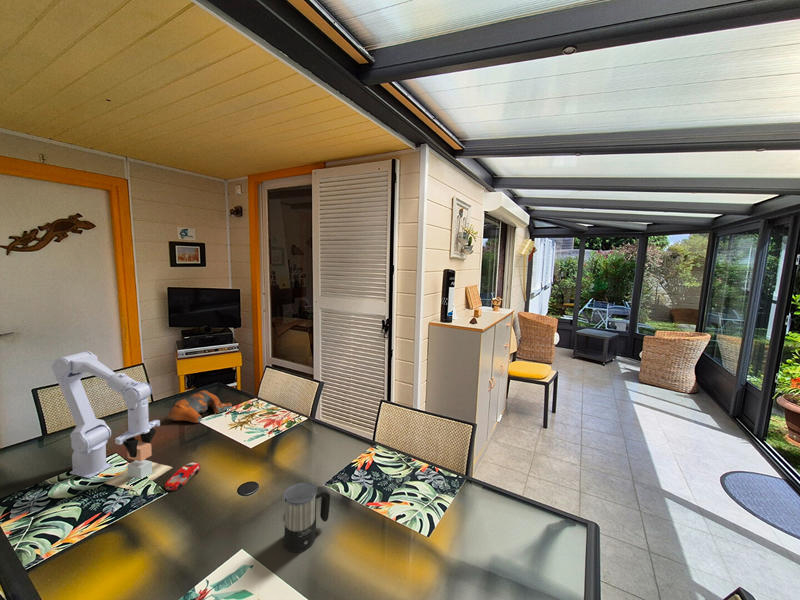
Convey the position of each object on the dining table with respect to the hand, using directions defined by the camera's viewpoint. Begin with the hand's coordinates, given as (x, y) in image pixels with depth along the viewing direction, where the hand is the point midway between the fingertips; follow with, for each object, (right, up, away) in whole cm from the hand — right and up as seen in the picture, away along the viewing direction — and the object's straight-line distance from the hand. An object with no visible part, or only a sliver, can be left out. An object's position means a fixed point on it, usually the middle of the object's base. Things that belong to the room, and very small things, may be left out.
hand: (139, 453), depth 119 cm
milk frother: (+64, -15, -19) cm, 68 cm away
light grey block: (0, -8, +1) cm, 8 cm away
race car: (+16, -10, 0) cm, 19 cm away
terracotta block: (0, -1, 0) cm, 1 cm away
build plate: (-1, -9, +1) cm, 8 cm away
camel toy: (-7, -4, +48) cm, 49 cm away
